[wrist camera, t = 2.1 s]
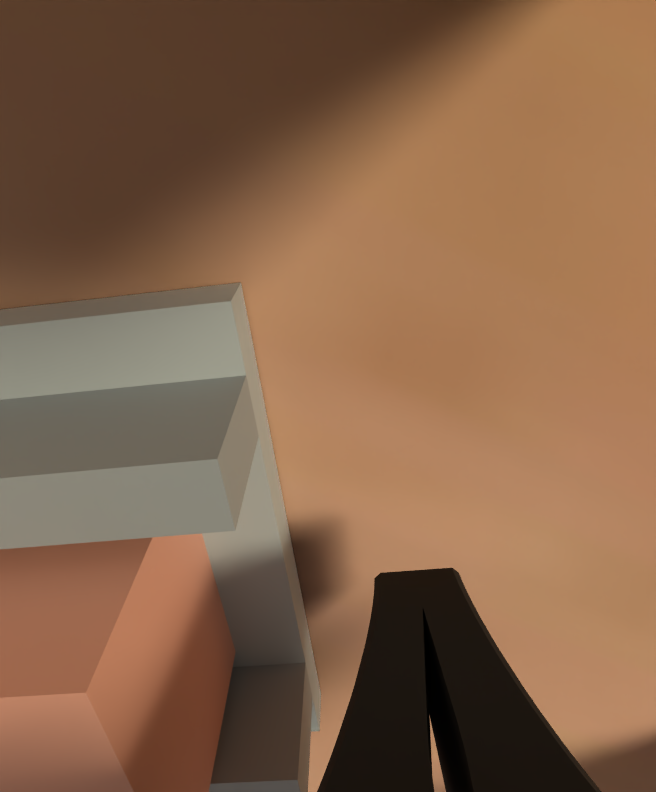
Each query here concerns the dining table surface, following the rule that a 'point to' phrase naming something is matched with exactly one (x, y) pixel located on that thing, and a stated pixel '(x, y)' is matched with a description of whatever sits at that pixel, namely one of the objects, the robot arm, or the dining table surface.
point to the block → (111, 666)
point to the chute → (167, 484)
